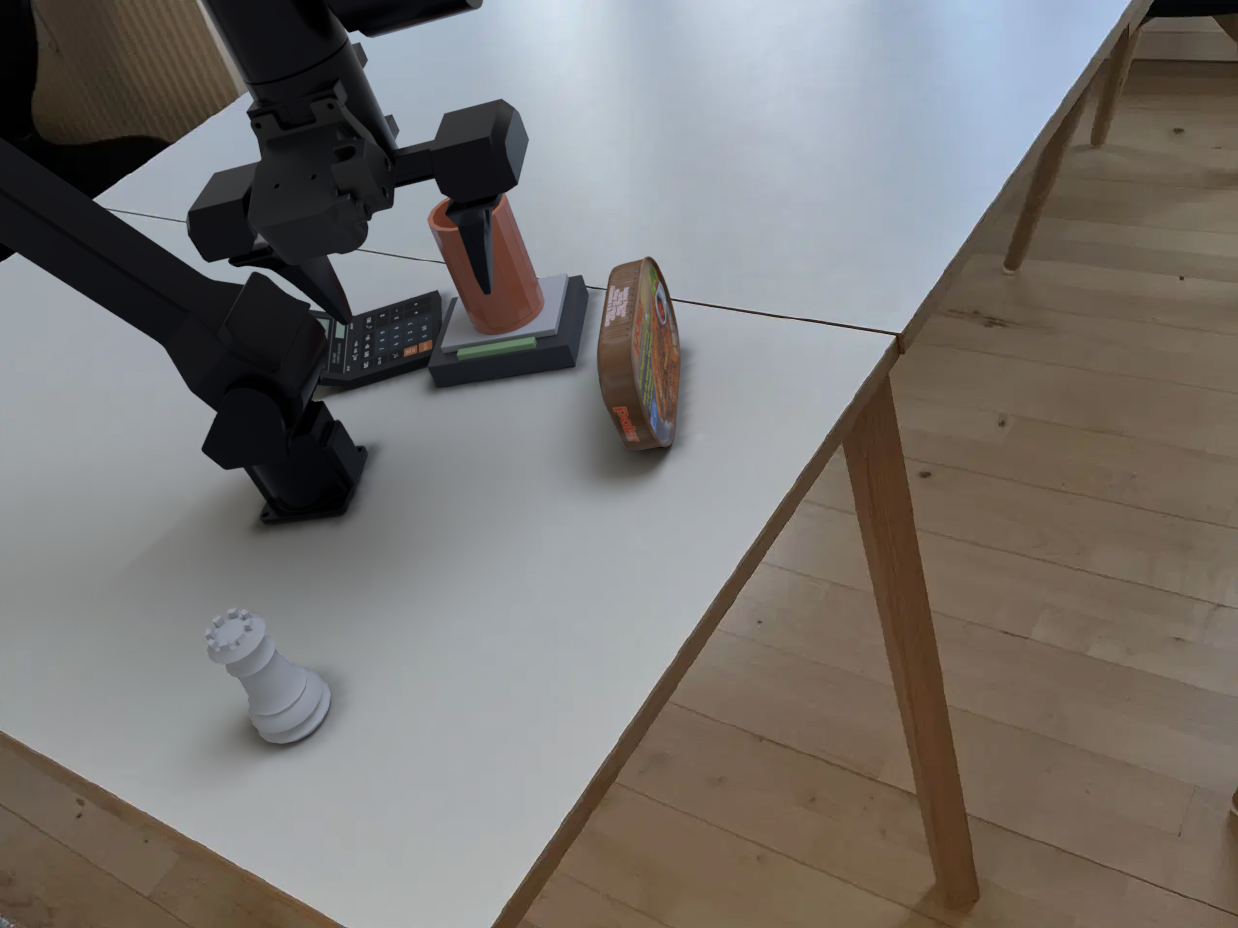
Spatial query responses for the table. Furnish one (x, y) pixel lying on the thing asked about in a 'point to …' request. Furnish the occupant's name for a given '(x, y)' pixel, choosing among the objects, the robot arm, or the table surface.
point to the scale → (513, 338)
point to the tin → (639, 355)
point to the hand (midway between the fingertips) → (417, 306)
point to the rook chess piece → (268, 678)
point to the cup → (512, 272)
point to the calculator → (381, 341)
